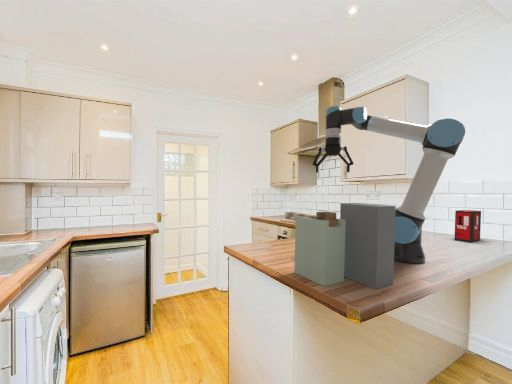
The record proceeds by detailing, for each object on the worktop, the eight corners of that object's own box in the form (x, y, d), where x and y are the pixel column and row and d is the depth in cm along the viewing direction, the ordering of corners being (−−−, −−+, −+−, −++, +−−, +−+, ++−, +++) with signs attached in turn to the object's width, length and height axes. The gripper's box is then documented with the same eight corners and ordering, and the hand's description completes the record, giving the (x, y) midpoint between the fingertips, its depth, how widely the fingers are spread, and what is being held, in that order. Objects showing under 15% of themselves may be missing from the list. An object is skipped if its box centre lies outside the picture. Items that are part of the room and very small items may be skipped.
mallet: (283, 218, 112) (283, 207, 112) (292, 218, 115) (292, 207, 115) (326, 227, 91) (326, 213, 91) (336, 226, 93) (336, 212, 93)
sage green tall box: (294, 272, 102) (295, 216, 101) (313, 268, 107) (314, 215, 106) (324, 286, 88) (325, 221, 88) (343, 281, 93) (345, 219, 93)
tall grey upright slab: (338, 274, 100) (340, 203, 100) (355, 270, 106) (357, 202, 105) (376, 289, 87) (378, 206, 86) (393, 283, 92) (395, 205, 91)
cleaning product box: (463, 238, 181) (464, 209, 181) (479, 240, 174) (481, 211, 173) (454, 240, 172) (455, 210, 171) (471, 243, 164) (472, 212, 164)
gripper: (307, 138, 134) (306, 178, 134) (358, 134, 124) (358, 178, 124) (310, 140, 140) (309, 179, 141) (359, 137, 131) (358, 179, 131)
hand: (332, 179), depth 133 cm, fingers open, 13 cm apart
